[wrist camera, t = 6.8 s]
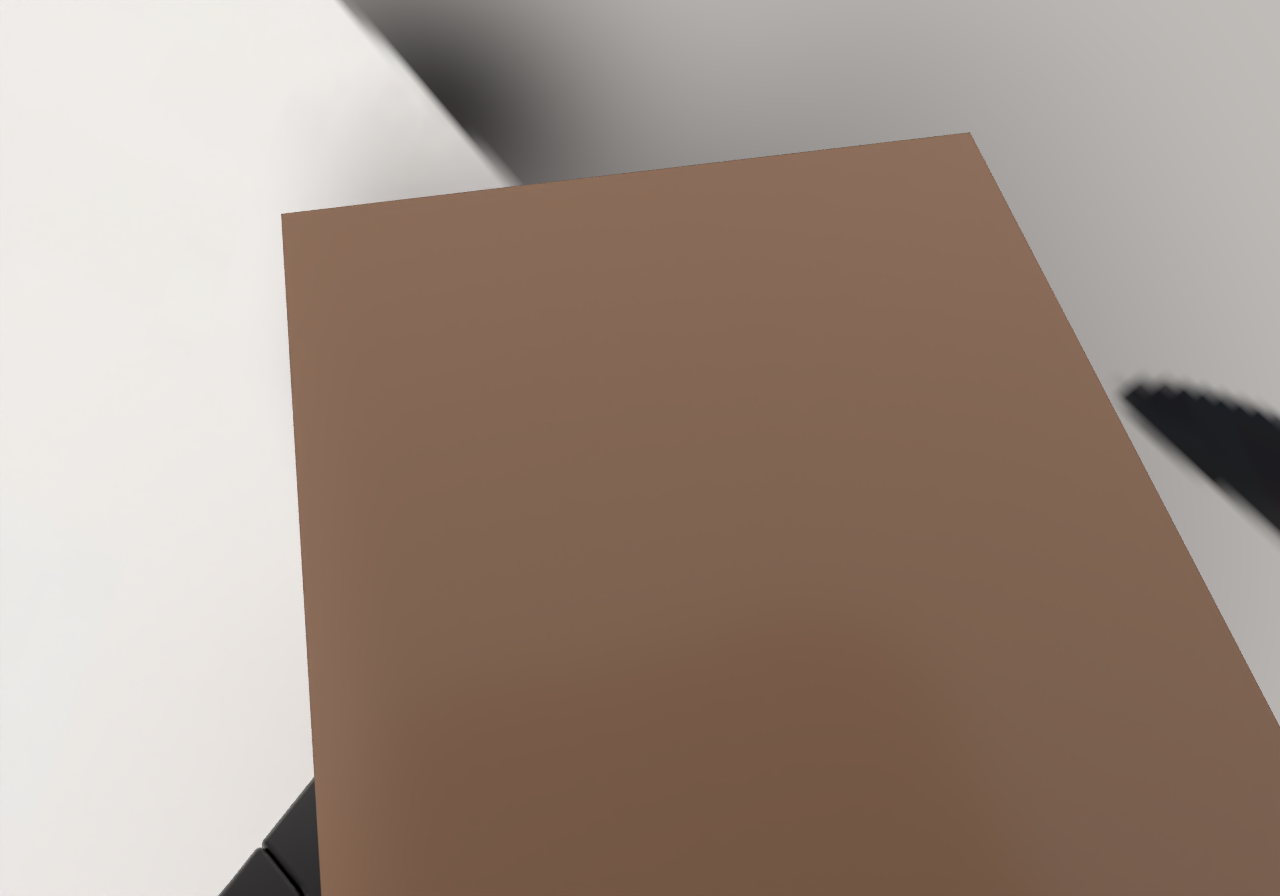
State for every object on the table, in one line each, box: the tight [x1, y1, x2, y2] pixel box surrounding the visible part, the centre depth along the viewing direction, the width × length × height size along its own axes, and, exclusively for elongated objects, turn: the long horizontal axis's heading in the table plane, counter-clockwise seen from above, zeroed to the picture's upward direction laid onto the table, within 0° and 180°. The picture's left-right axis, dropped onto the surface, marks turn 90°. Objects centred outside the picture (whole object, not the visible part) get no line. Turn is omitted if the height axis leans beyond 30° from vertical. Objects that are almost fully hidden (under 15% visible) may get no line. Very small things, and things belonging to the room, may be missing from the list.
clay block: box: [281, 132, 1280, 896], centre depth 8 cm, size 4×3×13 cm
